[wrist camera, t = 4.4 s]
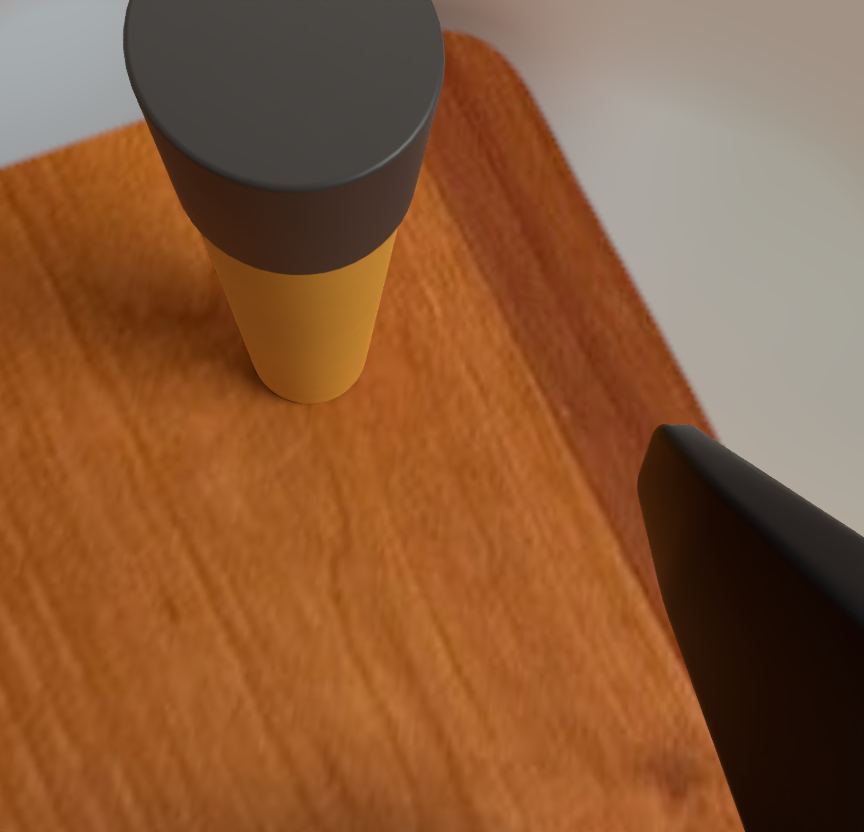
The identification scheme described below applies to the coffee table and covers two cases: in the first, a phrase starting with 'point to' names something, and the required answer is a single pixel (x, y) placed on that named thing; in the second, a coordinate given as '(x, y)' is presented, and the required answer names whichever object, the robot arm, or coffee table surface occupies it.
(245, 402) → the coffee table surface
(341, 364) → the disc
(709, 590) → the robot arm
